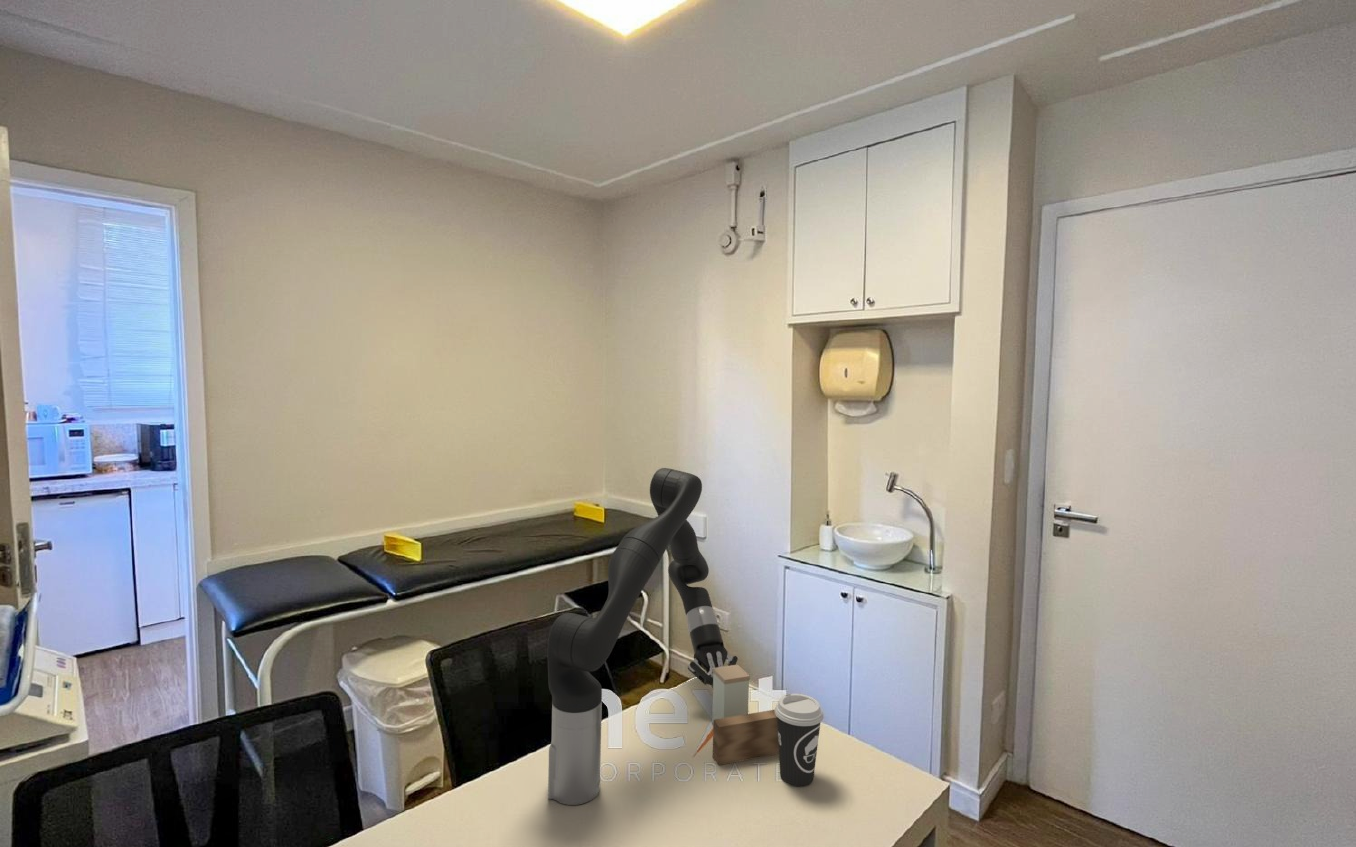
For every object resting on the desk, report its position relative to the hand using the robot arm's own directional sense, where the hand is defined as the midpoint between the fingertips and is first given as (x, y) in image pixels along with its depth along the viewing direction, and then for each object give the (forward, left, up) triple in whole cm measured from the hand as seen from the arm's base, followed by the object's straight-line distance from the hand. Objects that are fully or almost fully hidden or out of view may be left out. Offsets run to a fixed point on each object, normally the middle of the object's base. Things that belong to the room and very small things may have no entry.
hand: (722, 700), depth 145 cm
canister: (+1, -3, -5) cm, 6 cm away
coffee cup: (+13, -21, -5) cm, 25 cm away
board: (+5, -14, -5) cm, 15 cm away
